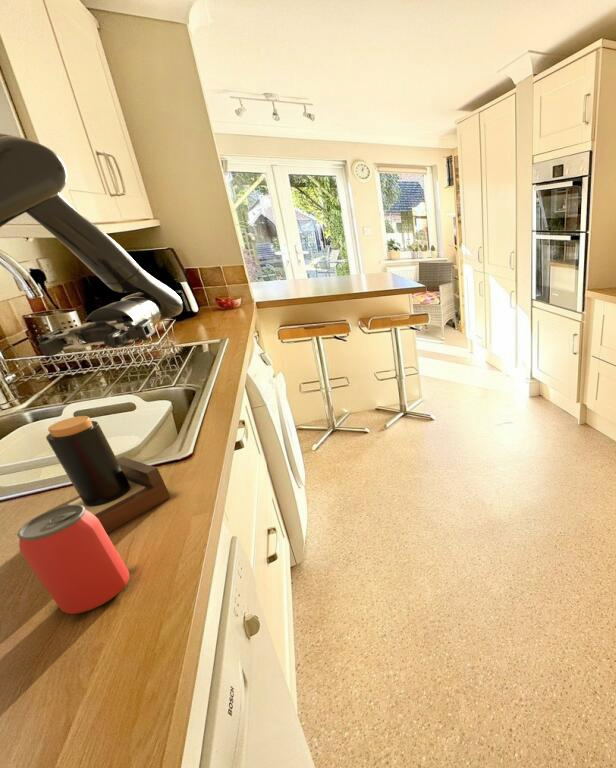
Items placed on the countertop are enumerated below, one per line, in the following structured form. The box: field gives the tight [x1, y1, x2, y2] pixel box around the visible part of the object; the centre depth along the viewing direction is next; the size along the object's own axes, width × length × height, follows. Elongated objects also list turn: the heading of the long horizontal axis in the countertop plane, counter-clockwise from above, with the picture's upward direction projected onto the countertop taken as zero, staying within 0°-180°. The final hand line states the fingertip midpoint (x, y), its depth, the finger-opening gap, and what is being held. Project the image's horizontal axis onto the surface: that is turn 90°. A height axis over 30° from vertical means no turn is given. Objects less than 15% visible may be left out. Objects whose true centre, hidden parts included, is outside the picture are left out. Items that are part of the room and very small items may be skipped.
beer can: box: [16, 505, 130, 615], centre depth 50 cm, size 7×7×12 cm
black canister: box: [45, 415, 131, 506], centre depth 63 cm, size 6×6×13 cm
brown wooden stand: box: [46, 456, 171, 534], centre depth 66 cm, size 10×11×6 cm
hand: (79, 346), depth 67 cm, fingers open, 8 cm apart
